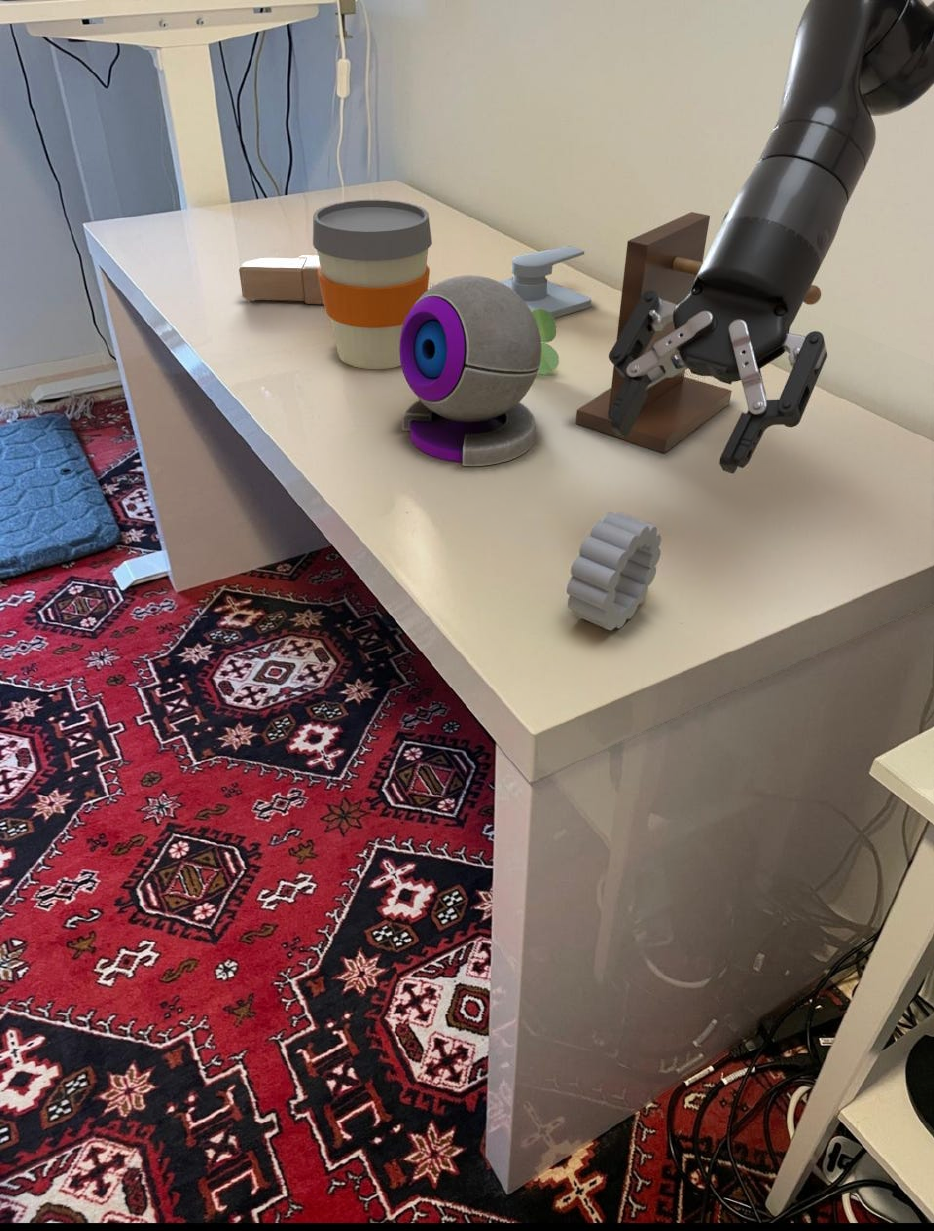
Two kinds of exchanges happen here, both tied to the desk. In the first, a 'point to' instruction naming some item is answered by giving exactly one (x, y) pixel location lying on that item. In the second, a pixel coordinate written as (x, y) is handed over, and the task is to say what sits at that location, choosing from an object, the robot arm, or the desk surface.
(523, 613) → the desk surface
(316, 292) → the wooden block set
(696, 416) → the rack
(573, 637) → the desk surface
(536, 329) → the webcam
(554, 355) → the seedling
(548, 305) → the shower valve
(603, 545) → the grey scalloped ring
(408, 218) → the reusable coffee cup
